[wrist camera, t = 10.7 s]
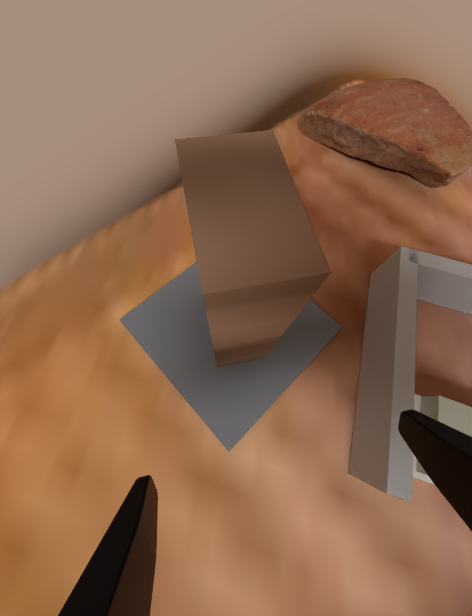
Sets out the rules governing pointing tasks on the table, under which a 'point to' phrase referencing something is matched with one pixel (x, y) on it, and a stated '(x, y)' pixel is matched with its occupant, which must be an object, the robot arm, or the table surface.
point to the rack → (397, 360)
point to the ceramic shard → (394, 128)
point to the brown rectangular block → (248, 241)
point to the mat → (202, 364)
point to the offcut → (446, 415)
